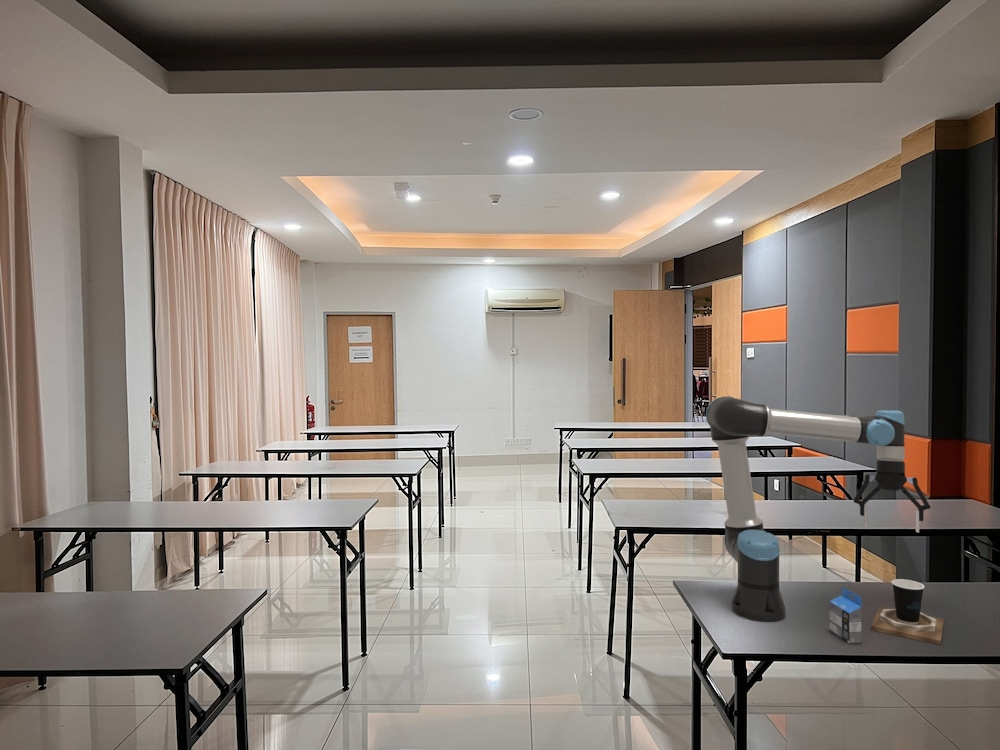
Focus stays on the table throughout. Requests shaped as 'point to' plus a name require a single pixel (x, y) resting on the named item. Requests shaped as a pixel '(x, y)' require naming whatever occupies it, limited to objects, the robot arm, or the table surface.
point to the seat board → (909, 626)
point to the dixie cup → (907, 600)
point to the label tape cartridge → (846, 616)
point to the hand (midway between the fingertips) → (891, 529)
